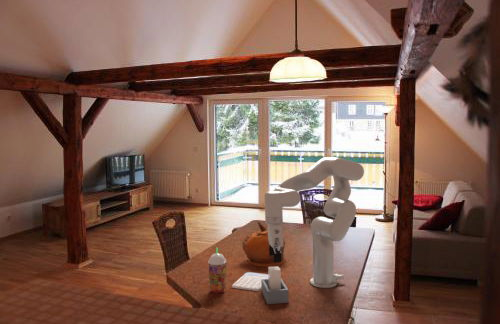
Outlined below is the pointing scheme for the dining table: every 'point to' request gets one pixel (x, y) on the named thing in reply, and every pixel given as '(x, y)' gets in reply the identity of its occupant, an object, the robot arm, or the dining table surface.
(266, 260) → the pumpkin
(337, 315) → the dining table surface
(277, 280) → the post
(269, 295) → the grey open box
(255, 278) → the calculator
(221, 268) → the smoothie
